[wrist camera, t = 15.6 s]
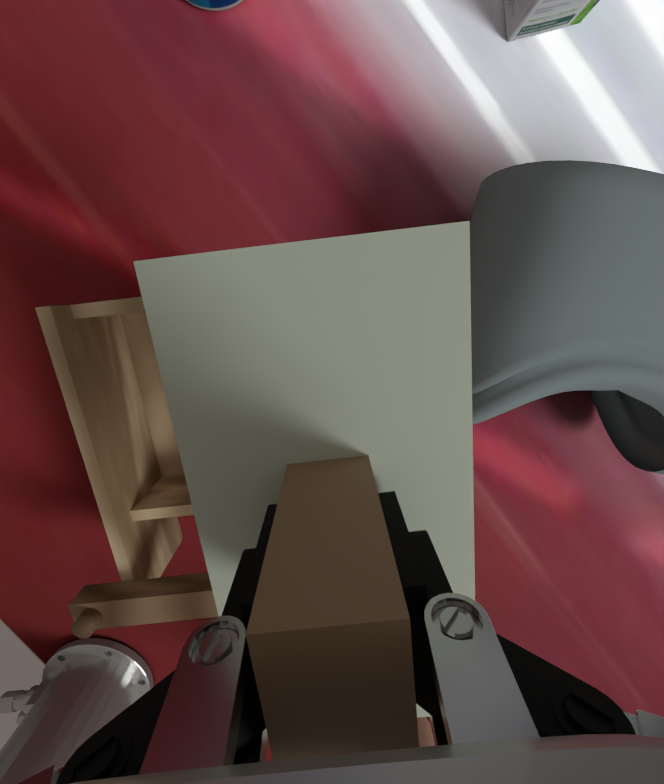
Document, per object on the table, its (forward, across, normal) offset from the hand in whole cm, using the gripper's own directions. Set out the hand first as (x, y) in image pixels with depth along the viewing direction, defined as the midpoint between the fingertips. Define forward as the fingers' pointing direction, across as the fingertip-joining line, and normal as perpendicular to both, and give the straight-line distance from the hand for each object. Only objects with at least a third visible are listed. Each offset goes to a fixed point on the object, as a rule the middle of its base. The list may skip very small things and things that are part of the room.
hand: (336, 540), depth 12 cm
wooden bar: (+15, +13, +14) cm, 25 cm away
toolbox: (+24, +13, +4) cm, 28 cm away
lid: (+2, 0, 0) cm, 2 cm away
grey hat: (+24, -20, -2) cm, 32 cm away
